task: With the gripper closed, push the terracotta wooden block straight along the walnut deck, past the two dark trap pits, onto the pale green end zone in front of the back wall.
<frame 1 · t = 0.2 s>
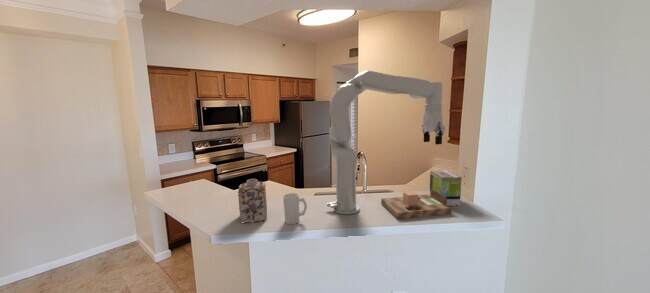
hand: (432, 143, 129), 31 cm above the countertop, tool pointing down, fingers open, 9 cm apart
decorative jar: (254, 217, 122), on the countertop
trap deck: (414, 208, 126), on the countertop
tea box: (443, 201, 135), on the countertop
block: (410, 203, 125), point 3 cm above the countertop, touching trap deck
mug: (296, 221, 116), on the countertop
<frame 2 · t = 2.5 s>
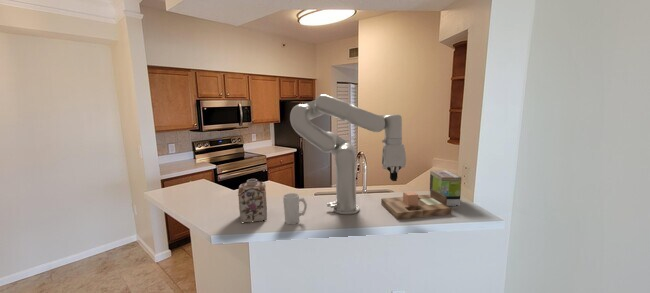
hand: (393, 180, 122), 15 cm above the countertop, tool pointing down, fingers closed
nothing on the countertop moved.
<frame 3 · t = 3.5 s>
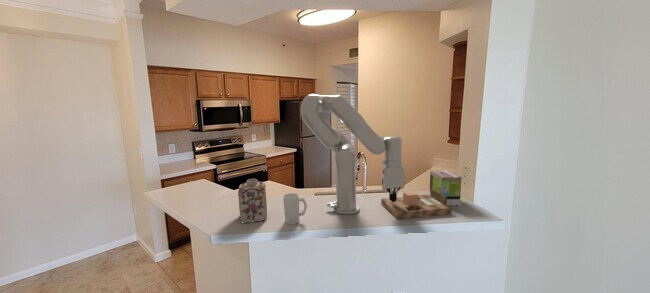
hand: (392, 200, 123), 5 cm above the countertop, tool pointing down, fingers closed
nothing on the countertop moved.
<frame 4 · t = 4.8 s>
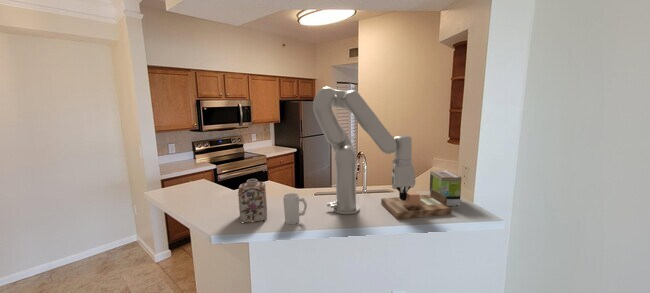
hand: (403, 199, 124), 5 cm above the countertop, tool pointing down, fingers closed
block: (412, 203, 125), point 3 cm above the countertop, touching gripper, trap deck
everything else where it was.
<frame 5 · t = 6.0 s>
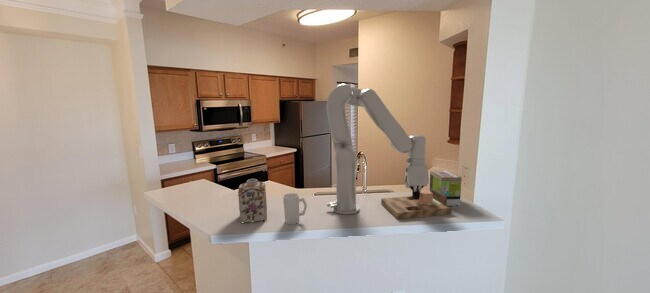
hand: (416, 198, 125), 5 cm above the countertop, tool pointing down, fingers closed
block: (424, 201, 126), point 3 cm above the countertop, touching gripper
everything else where it was.
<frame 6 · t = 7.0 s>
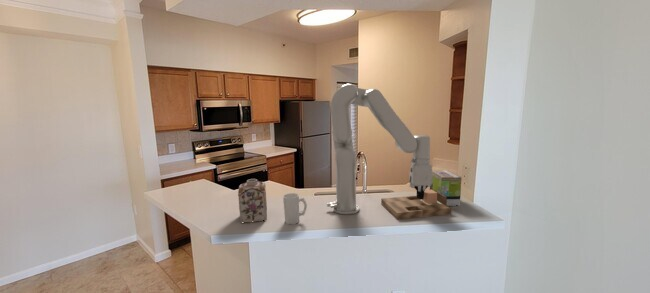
hand: (420, 198, 125), 5 cm above the countertop, tool pointing down, fingers closed
block: (429, 201, 126), point 3 cm above the countertop, touching gripper, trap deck
everything else where it was.
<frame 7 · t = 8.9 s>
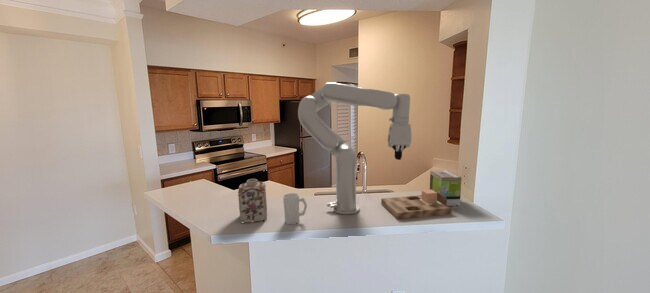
hand: (397, 159, 124), 24 cm above the countertop, tool pointing down, fingers closed
block: (429, 201, 126), point 3 cm above the countertop, touching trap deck
everything else where it was.
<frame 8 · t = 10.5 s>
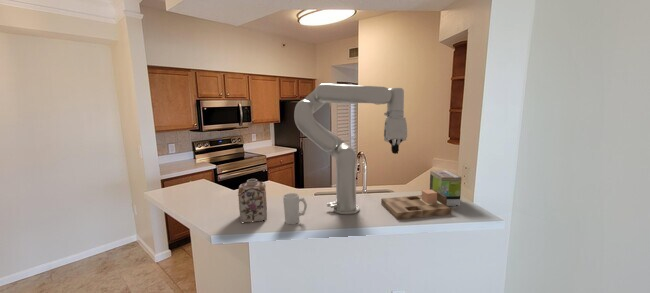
hand: (395, 153, 125), 27 cm above the countertop, tool pointing down, fingers closed
nothing on the countertop moved.
at the end: block 0.5 cm from the target spot, point 3.0 cm above the countertop; block tilted 0° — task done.
